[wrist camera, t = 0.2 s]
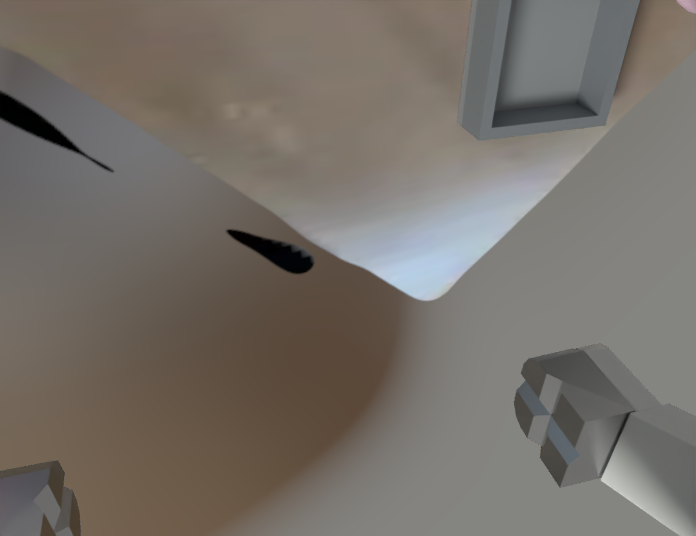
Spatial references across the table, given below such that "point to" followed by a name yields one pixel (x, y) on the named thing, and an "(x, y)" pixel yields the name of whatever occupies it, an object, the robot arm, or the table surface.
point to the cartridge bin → (542, 65)
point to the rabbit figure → (688, 5)
